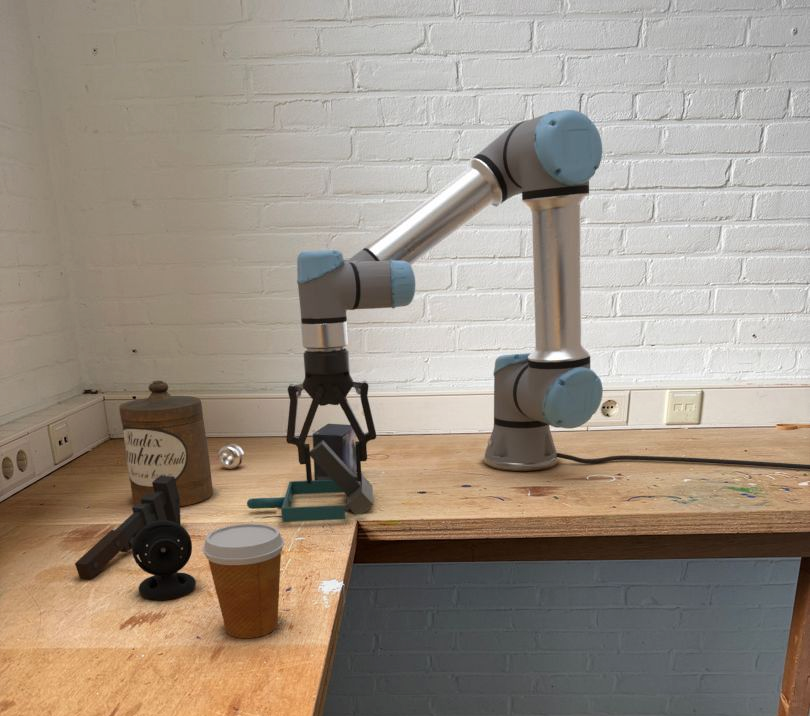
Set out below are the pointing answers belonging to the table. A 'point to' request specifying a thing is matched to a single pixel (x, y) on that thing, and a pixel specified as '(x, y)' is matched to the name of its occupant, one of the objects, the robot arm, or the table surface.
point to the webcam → (163, 559)
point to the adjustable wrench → (133, 526)
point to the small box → (336, 446)
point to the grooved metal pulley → (226, 456)
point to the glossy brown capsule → (347, 508)
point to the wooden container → (166, 444)
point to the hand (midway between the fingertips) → (334, 480)
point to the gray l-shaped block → (344, 478)
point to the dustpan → (303, 512)
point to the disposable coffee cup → (246, 576)
